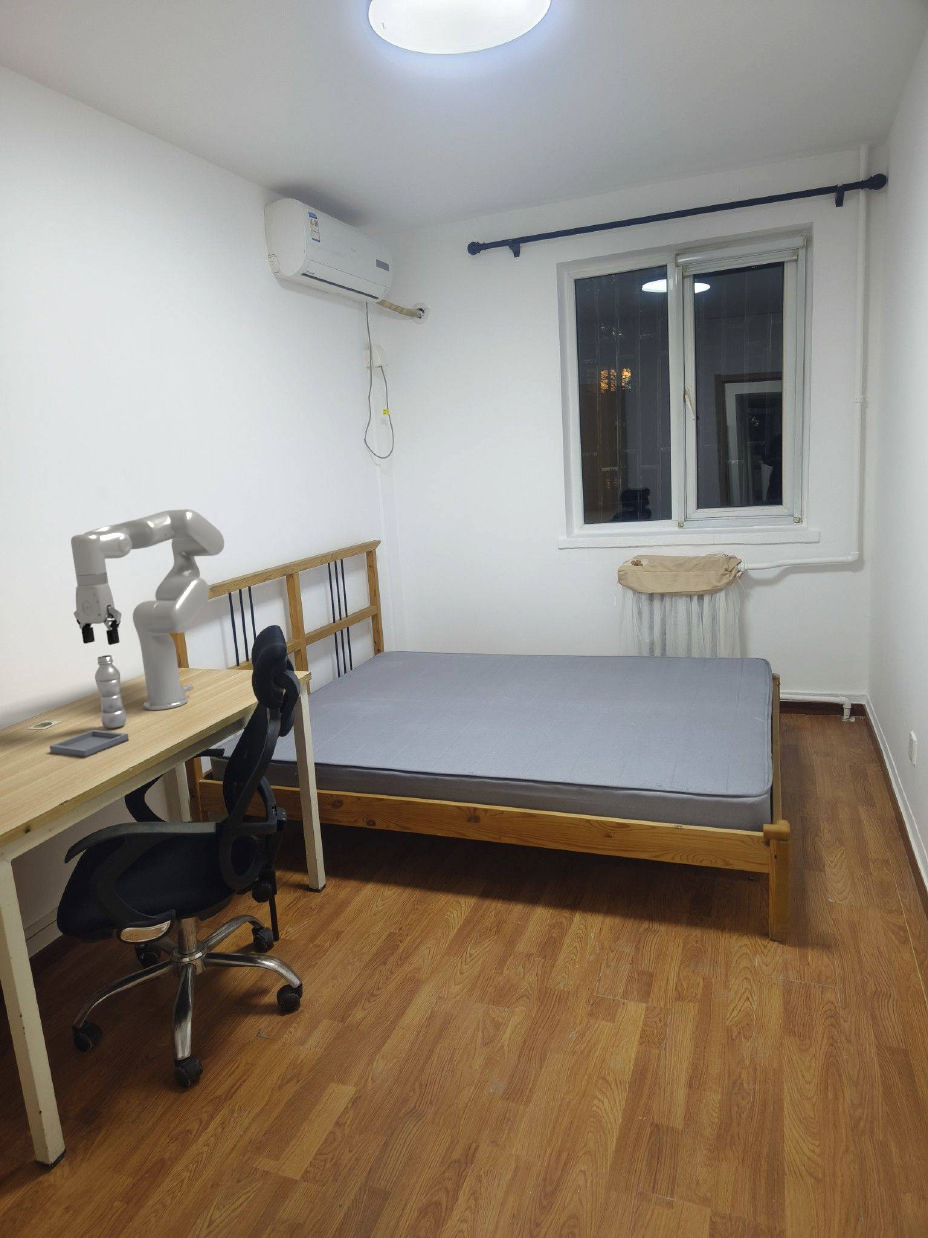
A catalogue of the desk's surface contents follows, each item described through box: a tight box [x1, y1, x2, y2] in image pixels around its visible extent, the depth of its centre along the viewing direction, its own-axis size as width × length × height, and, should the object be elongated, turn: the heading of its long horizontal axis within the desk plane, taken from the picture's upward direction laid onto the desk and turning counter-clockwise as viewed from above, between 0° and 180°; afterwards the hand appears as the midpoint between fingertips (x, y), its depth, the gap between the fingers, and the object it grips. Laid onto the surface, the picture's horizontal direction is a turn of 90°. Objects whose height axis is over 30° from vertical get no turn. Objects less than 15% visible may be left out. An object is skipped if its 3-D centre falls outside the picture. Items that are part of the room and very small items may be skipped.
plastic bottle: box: [94, 654, 128, 729], centre depth 216 cm, size 6×7×20 cm
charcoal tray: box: [49, 729, 130, 759], centre depth 202 cm, size 13×13×2 cm
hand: (101, 643), depth 213 cm, fingers open, 9 cm apart
